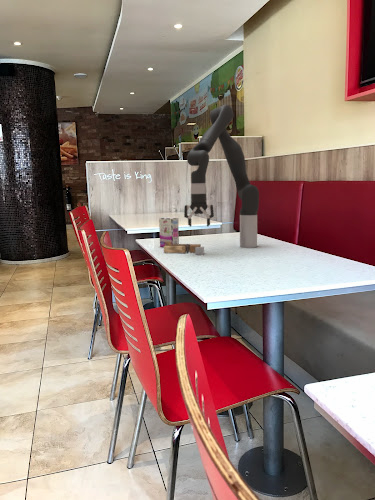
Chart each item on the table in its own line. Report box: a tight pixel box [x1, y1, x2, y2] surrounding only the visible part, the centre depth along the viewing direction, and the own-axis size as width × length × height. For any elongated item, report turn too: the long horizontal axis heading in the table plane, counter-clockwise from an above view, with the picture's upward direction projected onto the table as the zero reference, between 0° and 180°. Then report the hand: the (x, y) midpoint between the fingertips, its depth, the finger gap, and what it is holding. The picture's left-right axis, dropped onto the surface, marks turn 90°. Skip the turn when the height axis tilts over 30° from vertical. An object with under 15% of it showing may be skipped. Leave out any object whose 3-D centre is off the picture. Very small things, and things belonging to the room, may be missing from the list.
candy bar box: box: [158, 217, 180, 249], centre depth 234 cm, size 11×5×16 cm, turn 42°
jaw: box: [163, 246, 187, 254], centre depth 216 cm, size 11×3×3 cm, turn 82°
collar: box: [194, 246, 205, 256], centre depth 211 cm, size 4×4×4 cm
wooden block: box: [166, 243, 202, 254], centre depth 218 cm, size 7×18×4 cm, turn 82°
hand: (199, 226), depth 209 cm, fingers open, 8 cm apart
